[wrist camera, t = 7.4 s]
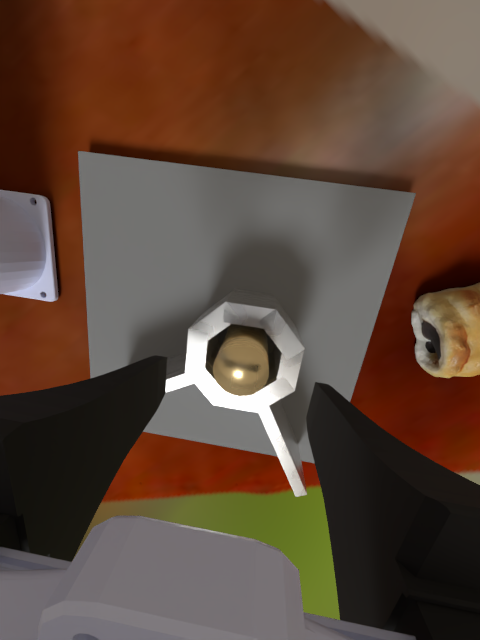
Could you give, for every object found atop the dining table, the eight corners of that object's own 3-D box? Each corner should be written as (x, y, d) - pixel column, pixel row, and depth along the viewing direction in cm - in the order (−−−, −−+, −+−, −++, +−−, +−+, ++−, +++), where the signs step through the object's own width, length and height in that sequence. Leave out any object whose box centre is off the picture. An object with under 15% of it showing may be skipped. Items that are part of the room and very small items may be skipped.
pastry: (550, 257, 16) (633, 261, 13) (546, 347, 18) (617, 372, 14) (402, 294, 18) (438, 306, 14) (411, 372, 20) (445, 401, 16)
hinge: (126, 417, 22) (93, 457, 18) (126, 272, 18) (83, 279, 14) (297, 448, 21) (305, 498, 17) (334, 303, 17) (357, 321, 13)
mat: (100, 415, 23) (93, 422, 23) (88, 156, 17) (78, 150, 16) (326, 456, 22) (329, 465, 21) (406, 196, 16) (415, 193, 15)
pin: (226, 349, 19) (211, 392, 13) (229, 312, 18) (214, 342, 13) (264, 353, 19) (265, 399, 13) (269, 317, 18) (272, 349, 12)
